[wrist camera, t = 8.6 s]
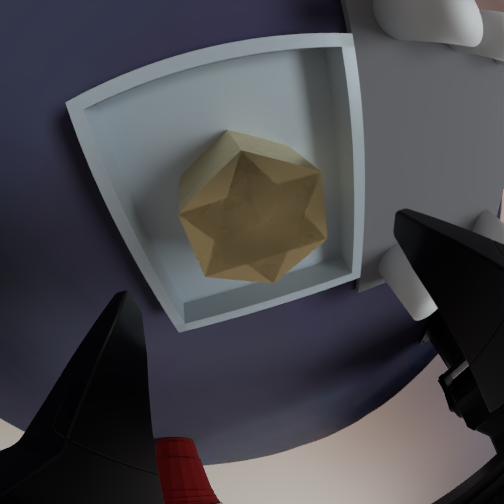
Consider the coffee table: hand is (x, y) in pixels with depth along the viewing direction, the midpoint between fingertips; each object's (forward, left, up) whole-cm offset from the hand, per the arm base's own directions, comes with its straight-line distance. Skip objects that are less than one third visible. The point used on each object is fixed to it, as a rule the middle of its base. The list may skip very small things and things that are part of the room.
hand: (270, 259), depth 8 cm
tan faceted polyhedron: (0, 0, -5) cm, 5 cm away
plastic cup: (-35, +18, -6) cm, 40 cm away
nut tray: (0, 0, -6) cm, 6 cm away
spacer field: (0, -15, -6) cm, 16 cm away
